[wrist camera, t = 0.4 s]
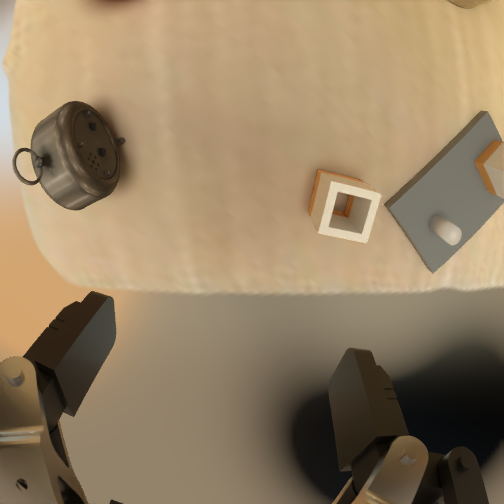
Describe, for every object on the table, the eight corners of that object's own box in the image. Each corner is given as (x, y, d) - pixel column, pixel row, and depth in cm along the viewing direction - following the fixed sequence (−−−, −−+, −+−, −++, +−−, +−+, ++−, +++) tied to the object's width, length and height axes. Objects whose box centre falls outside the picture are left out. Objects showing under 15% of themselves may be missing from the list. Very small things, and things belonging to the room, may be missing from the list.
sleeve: (317, 169, 31) (331, 181, 25) (359, 179, 31) (381, 193, 25) (308, 211, 33) (317, 233, 27) (348, 220, 33) (366, 243, 27)
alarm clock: (80, 117, 29) (-17, 128, 14) (114, 96, 28) (18, 92, 13) (108, 194, 33) (22, 245, 18) (143, 178, 32) (61, 224, 18)
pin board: (481, 111, 26) (523, 115, 18) (513, 181, 29) (551, 197, 21) (384, 204, 32) (415, 229, 24) (427, 268, 35) (457, 301, 28)
